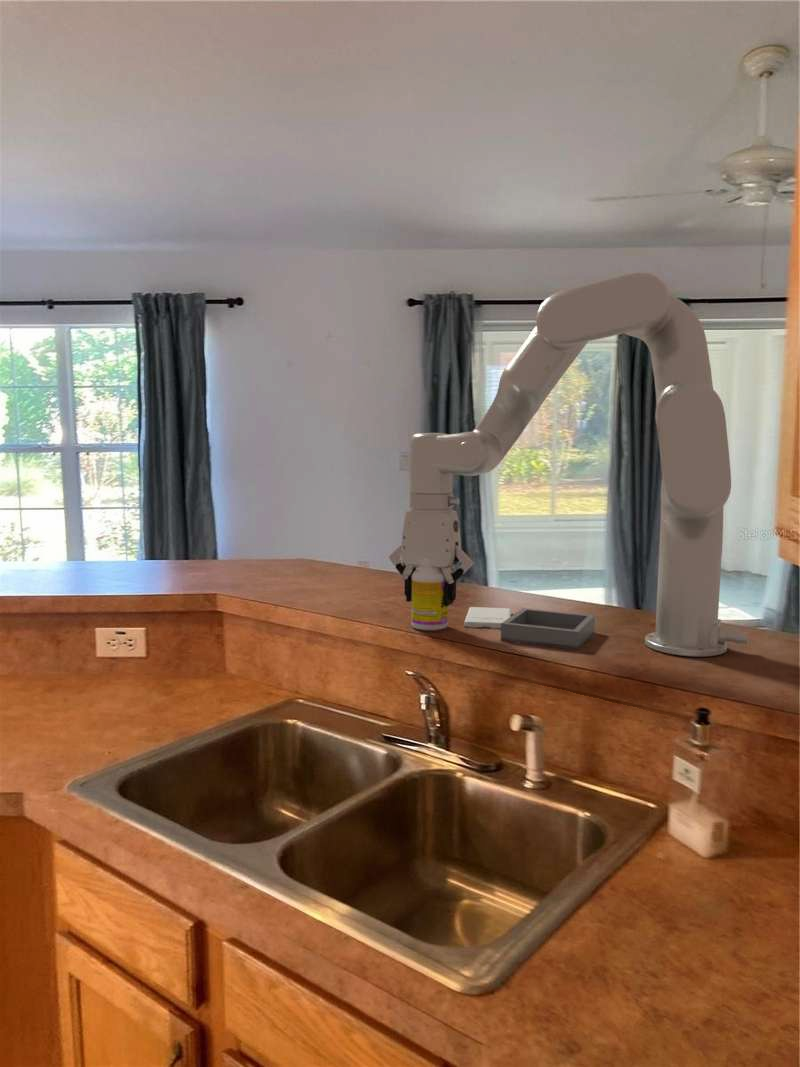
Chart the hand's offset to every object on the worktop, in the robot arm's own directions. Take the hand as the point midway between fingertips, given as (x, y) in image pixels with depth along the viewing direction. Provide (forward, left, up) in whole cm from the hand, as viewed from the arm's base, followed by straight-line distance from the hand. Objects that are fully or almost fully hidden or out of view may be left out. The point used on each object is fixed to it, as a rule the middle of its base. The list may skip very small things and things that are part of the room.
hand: (429, 601), depth 140 cm
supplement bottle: (0, 0, -5) cm, 5 cm away
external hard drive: (-8, -10, -5) cm, 14 cm away
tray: (-21, -3, -5) cm, 22 cm away
